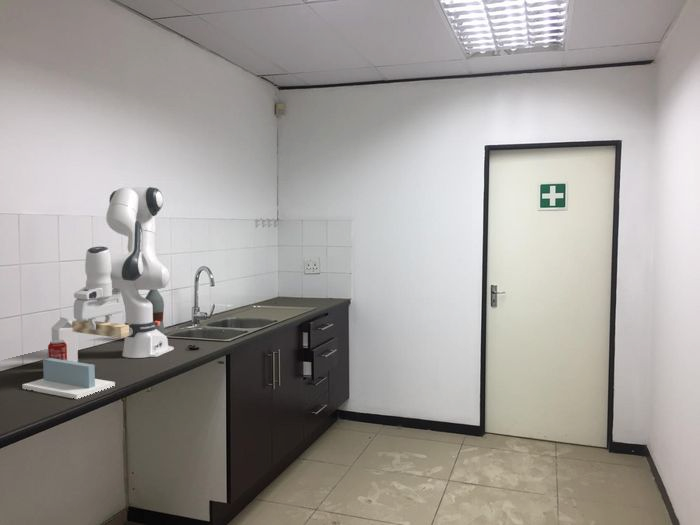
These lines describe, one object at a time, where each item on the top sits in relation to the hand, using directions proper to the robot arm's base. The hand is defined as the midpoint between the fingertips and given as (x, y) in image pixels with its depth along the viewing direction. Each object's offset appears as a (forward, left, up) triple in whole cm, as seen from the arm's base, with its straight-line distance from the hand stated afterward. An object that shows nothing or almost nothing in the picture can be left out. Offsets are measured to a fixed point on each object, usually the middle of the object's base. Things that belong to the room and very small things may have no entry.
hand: (100, 328), depth 216 cm
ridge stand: (+15, +1, -18) cm, 24 cm away
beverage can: (+3, -19, -18) cm, 27 cm away
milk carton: (-6, -26, -18) cm, 32 cm away
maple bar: (0, 0, -2) cm, 2 cm away
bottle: (-57, -27, -18) cm, 65 cm away
